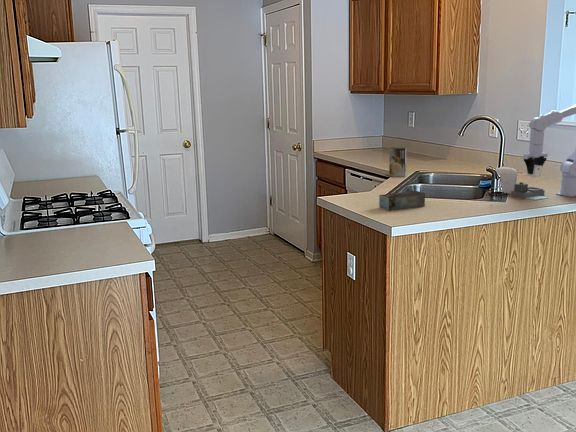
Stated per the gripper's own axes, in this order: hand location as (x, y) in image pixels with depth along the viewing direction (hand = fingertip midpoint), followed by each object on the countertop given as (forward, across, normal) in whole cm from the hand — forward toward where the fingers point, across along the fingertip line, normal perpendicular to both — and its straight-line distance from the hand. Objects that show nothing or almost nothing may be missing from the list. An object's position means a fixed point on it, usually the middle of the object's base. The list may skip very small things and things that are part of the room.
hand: (533, 173), depth 265 cm
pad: (+10, +4, +6) cm, 13 cm away
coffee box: (+10, +16, -78) cm, 80 cm away
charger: (+1, 0, 0) cm, 1 cm away
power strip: (+10, +3, 0) cm, 11 cm away
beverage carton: (+11, +68, -12) cm, 70 cm away
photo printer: (+10, +6, -10) cm, 16 cm away
